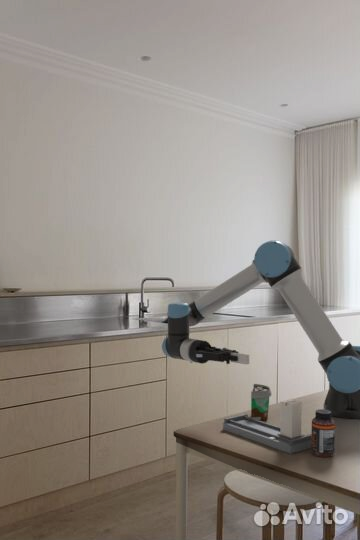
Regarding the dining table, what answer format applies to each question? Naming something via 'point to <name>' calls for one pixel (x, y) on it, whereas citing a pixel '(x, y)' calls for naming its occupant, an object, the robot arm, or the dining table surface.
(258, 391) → the food container
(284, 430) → the fader tab
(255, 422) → the board
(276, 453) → the dining table surface
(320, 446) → the supplement bottle
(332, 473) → the dining table surface
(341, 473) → the dining table surface
